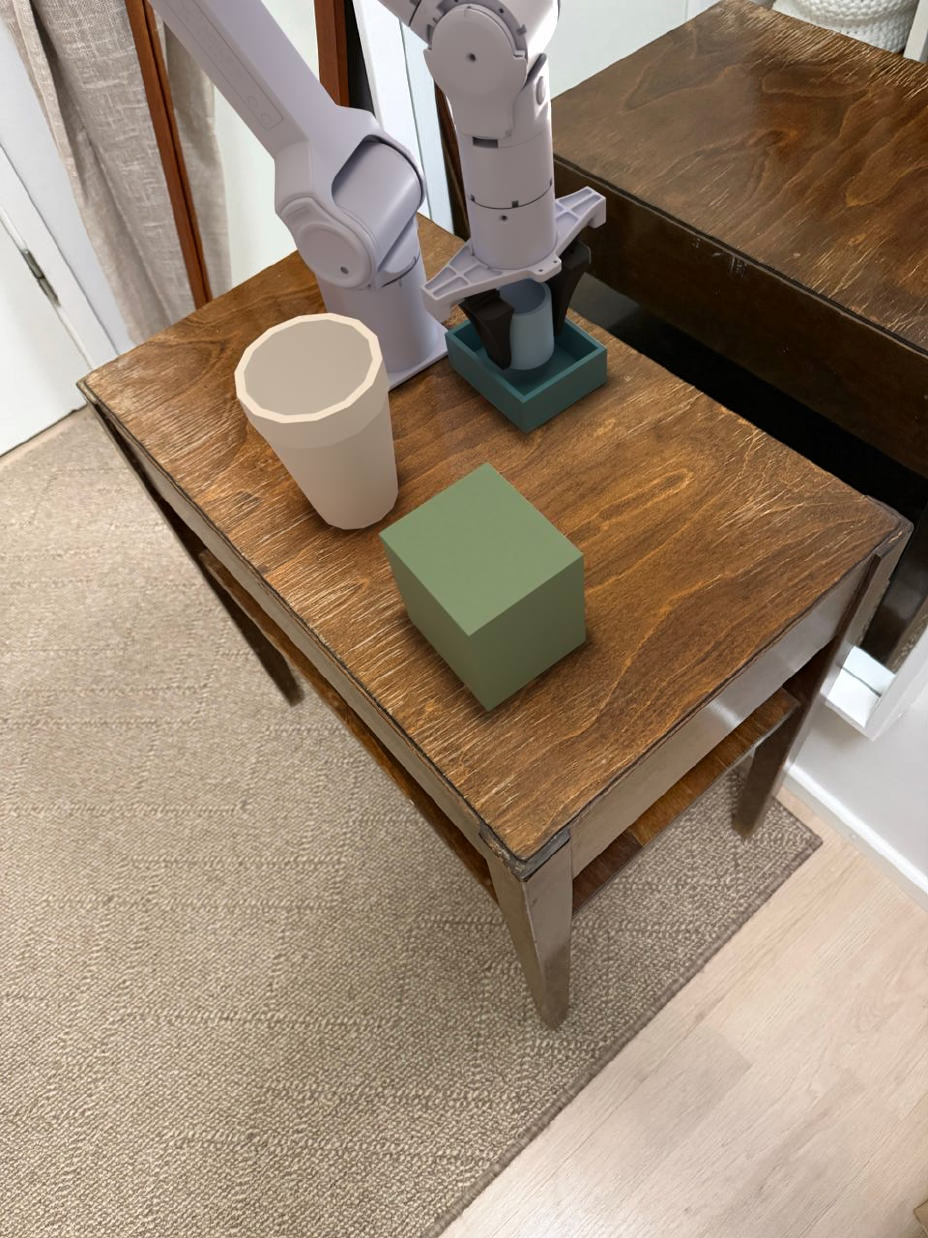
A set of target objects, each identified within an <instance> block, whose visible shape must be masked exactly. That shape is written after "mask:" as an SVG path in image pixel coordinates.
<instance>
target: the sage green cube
mask: <svg viewBox="0 0 928 1238" xmlns="http://www.w3.org/2000/svg"><path fill="white" fill-rule="evenodd" d="M378 536H379V539H380V542H381V545H382V548H383V551H384V553H385V556H386V559H387V561H388V564H389V567H390V570H391V573H392V574H393V577H394V581H395V584H396V586H397V588H398V591H399V594H400V597H401V599H402V602H403V605H404V607H405V611H406V612H407V613H406V614H407V616H408V618H409V620H410V621H411V623H412V624H413V625H414V626H415V627H416V628H417V630H418V631H419V632H420V633H421V634H422V636H423V637H424V638H425V640H427V642H428V643H429V644H430V645H431V647H432V648H433V649H434V650H435V652H437V653H438V655H439V656H440V657H441V658H442V659H443V661H444V662H445V663H446V664H447V665H448V666H449V667H450V669H451V670H452V671H453V672H454V674H455V675H456V676H457V677H458V678H459V680H460V681H461V682H462V683H463V684H464V685H465V687H466V688H467V689H468V690H469V692H471V694H472V695H473V697H474V698H475V699H476V700H477V701H478V702H479V703H480V704H481V706H482V707H483V708H484V709H485V711H486V712H488V713H489V712H491V711H492V710H494V709H496V707H498V706H499V705H500V704H502V703H503V702H504V701H506V700H507V699H508V698H510V697H511V696H513V695H514V694H515V693H516V692H518V691H520V690H521V689H522V688H523V687H525V686H526V685H527V684H529V683H530V682H531V681H533V680H534V679H536V678H537V677H538V676H540V675H541V674H542V673H544V672H545V671H547V670H548V669H549V668H551V667H553V666H554V665H555V664H556V663H557V662H559V661H560V660H562V659H563V658H565V656H566V657H567V655H569V654H570V653H571V652H572V651H574V650H576V649H577V648H578V647H579V646H581V645H582V644H583V643H585V642H586V640H587V639H586V638H587V637H586V636H587V635H586V601H585V600H586V599H585V598H586V597H585V596H586V595H585V566H584V565H585V562H584V561H585V560H584V554H583V552H581V551H580V549H578V548H577V547H576V545H574V543H572V542H571V541H570V540H569V539H568V538H567V537H566V536H565V535H564V534H562V532H561V531H560V530H558V529H557V528H556V526H554V525H553V524H552V523H551V522H550V520H548V518H547V517H545V516H544V515H543V514H542V513H541V512H540V511H539V510H538V509H537V508H536V507H535V506H534V505H533V504H531V502H530V501H529V500H527V499H526V498H525V497H524V496H523V495H522V494H521V493H520V492H519V491H518V490H517V489H516V488H515V487H514V486H513V485H512V484H511V483H510V482H509V481H508V480H506V479H505V478H504V476H503V475H502V474H500V473H499V472H498V471H497V470H496V469H495V468H494V467H493V466H492V465H491V464H490V463H489V462H488V461H486V462H484V463H483V464H481V465H479V466H478V467H476V468H475V469H474V470H472V471H471V472H469V473H467V474H466V475H464V476H463V477H462V478H460V479H459V480H457V481H456V482H454V483H452V484H450V485H449V486H448V487H447V488H445V489H443V490H441V491H440V492H439V493H437V494H436V495H434V496H432V497H431V498H429V499H428V500H427V501H425V502H424V503H422V504H420V505H419V506H417V507H415V509H413V510H411V511H410V512H408V513H407V514H406V515H404V516H402V517H401V518H400V519H398V520H397V521H395V522H393V523H391V524H390V525H389V526H387V527H386V528H385V529H383V530H381V531H380V532H379V533H378Z"/></svg>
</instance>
